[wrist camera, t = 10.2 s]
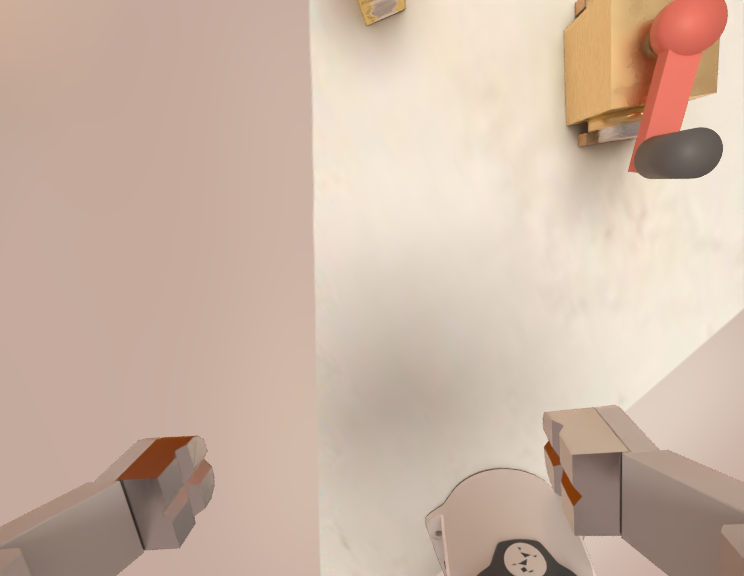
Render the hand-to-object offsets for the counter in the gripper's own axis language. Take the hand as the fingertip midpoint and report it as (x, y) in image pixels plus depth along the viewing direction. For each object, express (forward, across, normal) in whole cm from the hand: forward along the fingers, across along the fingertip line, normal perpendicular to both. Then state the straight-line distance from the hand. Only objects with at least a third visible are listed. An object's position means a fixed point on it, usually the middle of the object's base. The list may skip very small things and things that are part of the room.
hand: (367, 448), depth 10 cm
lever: (+23, -19, -9) cm, 32 cm away
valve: (+34, -20, -13) cm, 42 cm away
